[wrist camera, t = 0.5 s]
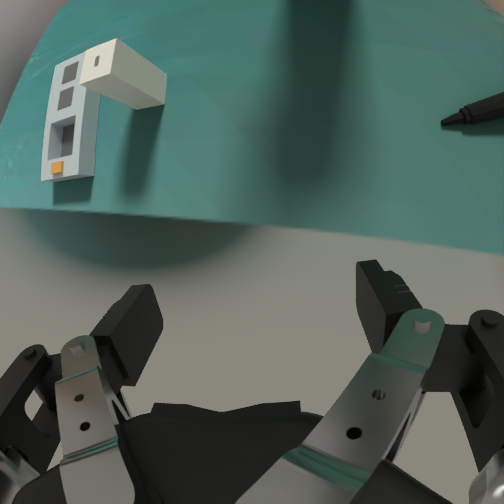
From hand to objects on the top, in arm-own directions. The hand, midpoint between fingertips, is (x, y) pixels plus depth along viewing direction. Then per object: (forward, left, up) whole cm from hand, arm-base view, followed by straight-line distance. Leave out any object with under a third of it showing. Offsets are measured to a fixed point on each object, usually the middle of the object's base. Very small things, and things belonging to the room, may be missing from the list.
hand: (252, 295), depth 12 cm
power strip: (-19, -34, -24) cm, 45 cm away
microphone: (-19, +26, -24) cm, 40 cm away
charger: (-20, -20, -24) cm, 37 cm away
